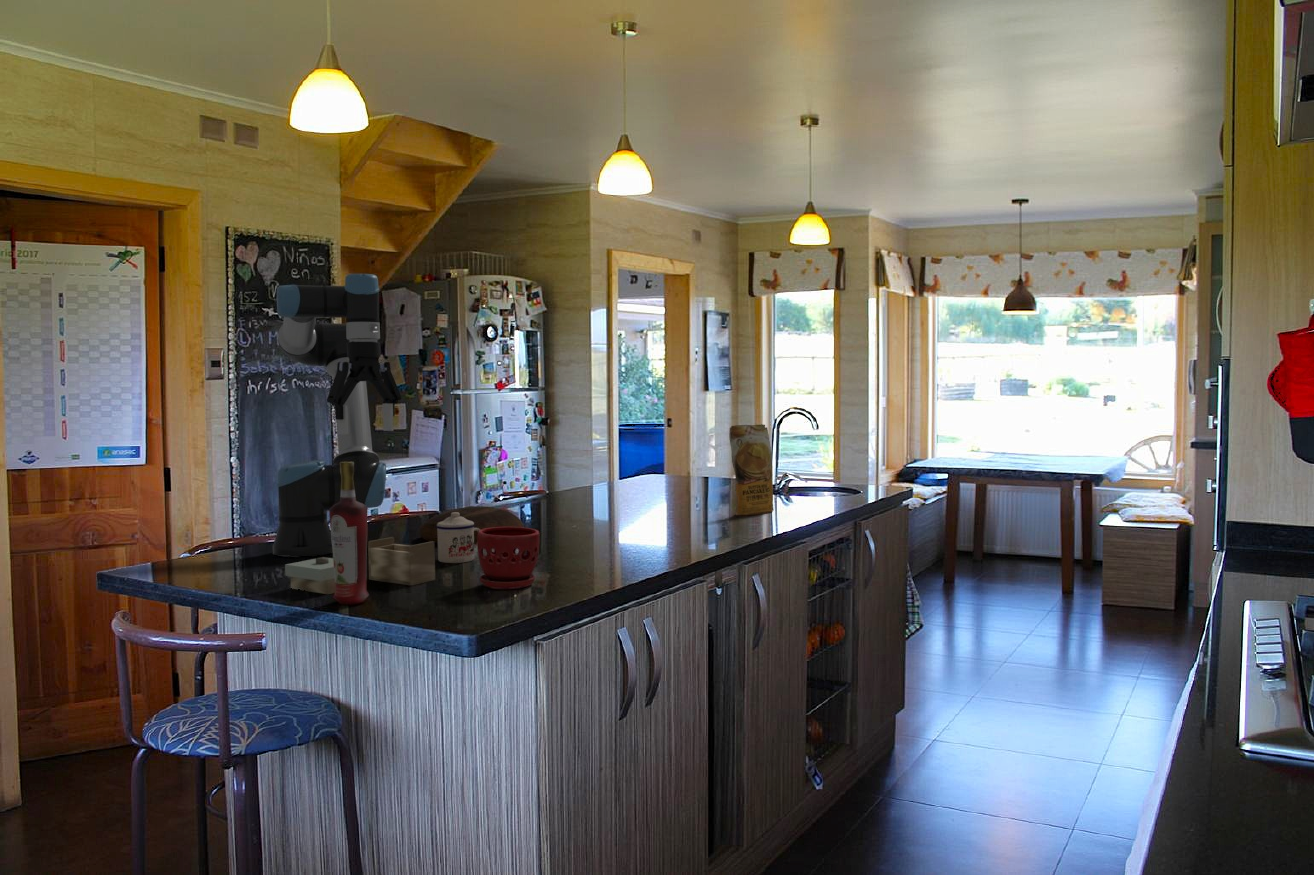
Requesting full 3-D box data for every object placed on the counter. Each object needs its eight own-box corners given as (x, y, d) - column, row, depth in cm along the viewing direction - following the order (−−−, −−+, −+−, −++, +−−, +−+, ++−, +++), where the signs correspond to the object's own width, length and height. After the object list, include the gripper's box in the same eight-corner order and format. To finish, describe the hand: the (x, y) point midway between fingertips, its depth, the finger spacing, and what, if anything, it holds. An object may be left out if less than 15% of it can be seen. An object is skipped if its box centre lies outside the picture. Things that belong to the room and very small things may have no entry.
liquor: (324, 604, 206) (319, 463, 204) (347, 597, 213) (343, 460, 211) (355, 607, 204) (350, 464, 202) (377, 599, 210) (373, 461, 209)
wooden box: (369, 579, 231) (368, 541, 231) (393, 574, 237) (392, 536, 237) (411, 585, 224) (410, 546, 223) (435, 579, 230) (434, 541, 229)
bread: (545, 535, 293) (544, 504, 292) (483, 550, 269) (482, 516, 268) (465, 528, 307) (464, 499, 306) (400, 542, 283) (399, 510, 282)
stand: (290, 588, 223) (290, 574, 222) (317, 582, 229) (317, 569, 228) (328, 594, 216) (327, 580, 216) (355, 588, 222) (354, 574, 222)
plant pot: (487, 594, 214) (485, 536, 213) (472, 583, 226) (470, 528, 225) (548, 588, 219) (547, 531, 219) (530, 577, 231) (529, 523, 231)
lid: (285, 575, 221) (284, 559, 221) (323, 568, 229) (323, 552, 229) (321, 581, 215) (320, 564, 215) (359, 572, 223) (358, 557, 223)
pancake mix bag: (722, 514, 327) (722, 425, 325) (766, 509, 339) (766, 423, 337) (737, 517, 322) (736, 426, 320) (781, 511, 334) (781, 423, 332)
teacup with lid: (449, 565, 247) (448, 516, 247) (430, 560, 254) (429, 512, 253) (492, 558, 255) (491, 511, 254) (473, 554, 262) (472, 507, 261)
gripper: (331, 339, 230) (334, 435, 232) (414, 341, 251) (417, 429, 253) (308, 340, 234) (311, 435, 236) (392, 342, 255) (395, 429, 257)
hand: (366, 432), depth 244 cm, fingers open, 13 cm apart
